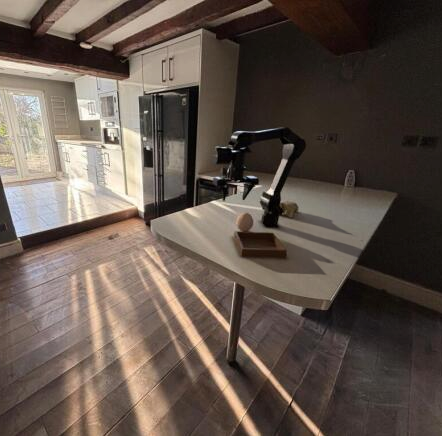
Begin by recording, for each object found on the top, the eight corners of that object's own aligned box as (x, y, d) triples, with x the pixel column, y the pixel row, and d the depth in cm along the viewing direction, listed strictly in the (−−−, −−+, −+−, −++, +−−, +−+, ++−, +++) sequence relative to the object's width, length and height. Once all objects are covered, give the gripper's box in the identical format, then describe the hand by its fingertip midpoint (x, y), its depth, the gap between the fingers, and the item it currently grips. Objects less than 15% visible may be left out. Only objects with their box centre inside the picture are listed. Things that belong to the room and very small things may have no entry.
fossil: (278, 206, 134) (293, 196, 128) (288, 220, 132) (304, 210, 126) (269, 209, 123) (286, 198, 117) (280, 224, 120) (298, 214, 115)
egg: (255, 233, 100) (258, 215, 97) (240, 234, 98) (243, 216, 95) (246, 226, 107) (248, 209, 103) (232, 228, 105) (234, 210, 101)
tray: (271, 239, 95) (272, 232, 94) (285, 258, 82) (287, 250, 80) (233, 237, 95) (234, 231, 94) (241, 256, 82) (242, 248, 81)
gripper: (248, 160, 104) (244, 194, 110) (209, 161, 100) (207, 196, 106) (262, 164, 94) (256, 201, 100) (219, 165, 90) (215, 203, 96)
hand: (233, 200), depth 101 cm, fingers open, 9 cm apart
